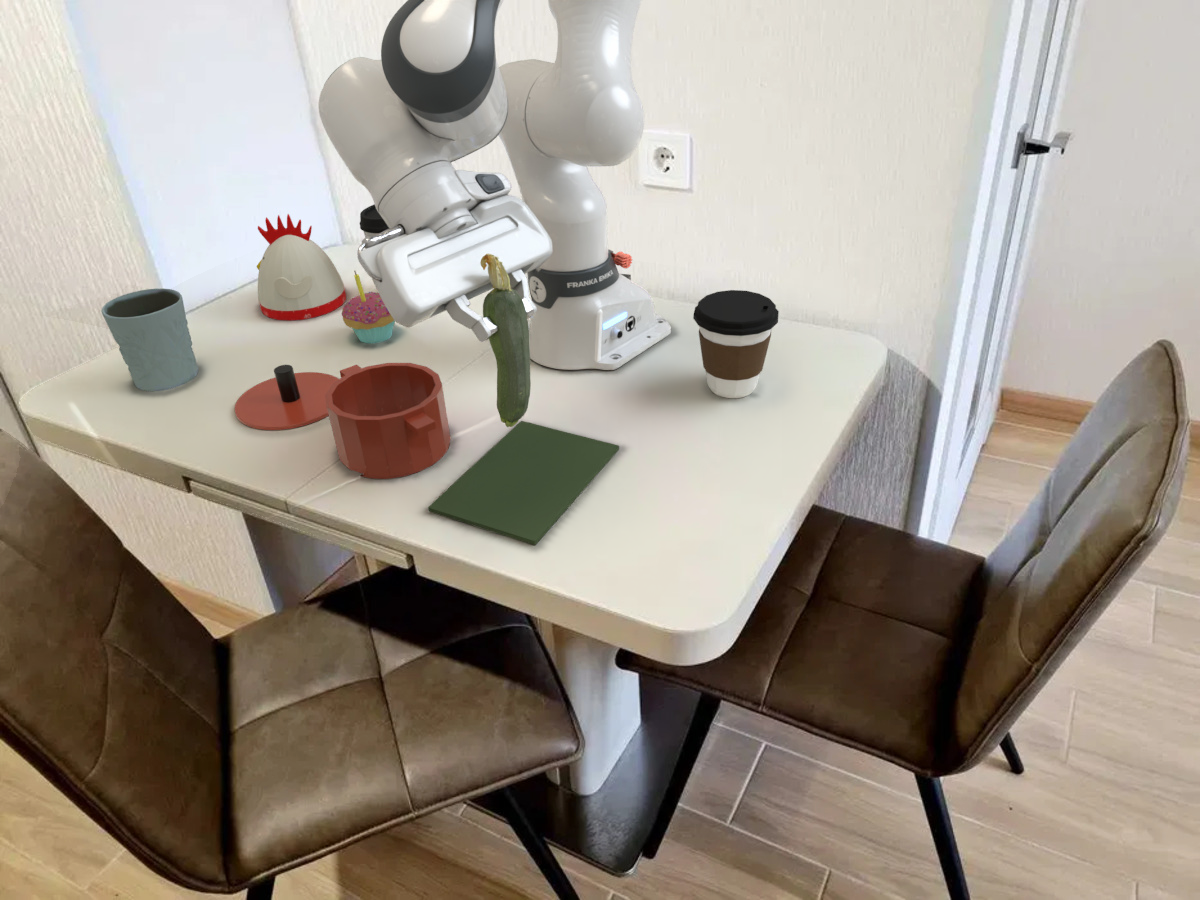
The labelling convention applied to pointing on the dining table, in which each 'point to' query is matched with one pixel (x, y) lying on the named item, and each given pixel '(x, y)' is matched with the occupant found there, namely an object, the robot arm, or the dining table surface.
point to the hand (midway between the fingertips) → (510, 326)
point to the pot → (388, 419)
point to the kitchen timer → (296, 275)
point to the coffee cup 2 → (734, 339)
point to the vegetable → (508, 342)
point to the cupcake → (368, 316)
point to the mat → (525, 481)
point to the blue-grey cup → (153, 337)
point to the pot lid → (285, 400)
